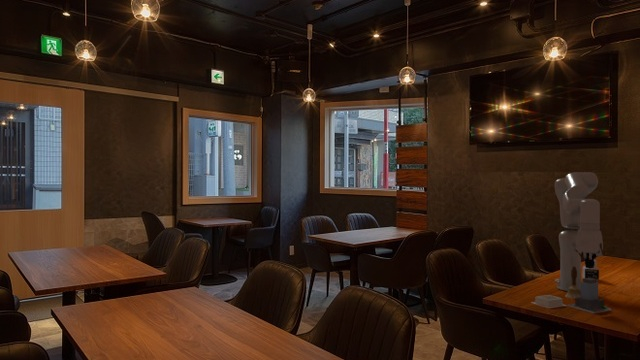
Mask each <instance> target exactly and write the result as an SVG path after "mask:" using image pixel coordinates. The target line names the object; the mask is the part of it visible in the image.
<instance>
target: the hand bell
mask: <svg viewBox="0 0 640 360" xmlns="http://www.w3.org/2000/svg"><path fill="white" fill-rule="evenodd" d="M571 277H572V286H571V287H569V289H568V291H567V293H566V294H565V295H564V297H565V298H567V299H571V300H575V298H578V297H581V292H579V288H577V287H576V277H577V270H576V267H573V268H572V270H571Z"/></svg>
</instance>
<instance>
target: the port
mask: <svg viewBox="0 0 640 360" xmlns="http://www.w3.org/2000/svg"><path fill="white" fill-rule="evenodd" d="M567 307H569V308H574V309H576V310H579V311H583V312H586V313H590V314H599V313H605V312H610V311H611V312H612V308H610V307H609V306H605V300H604V299H602V298H599V297H598V300H595V301H587V300H583V299H581V297H578V298H575V299H574V303H568V304H567Z"/></svg>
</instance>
